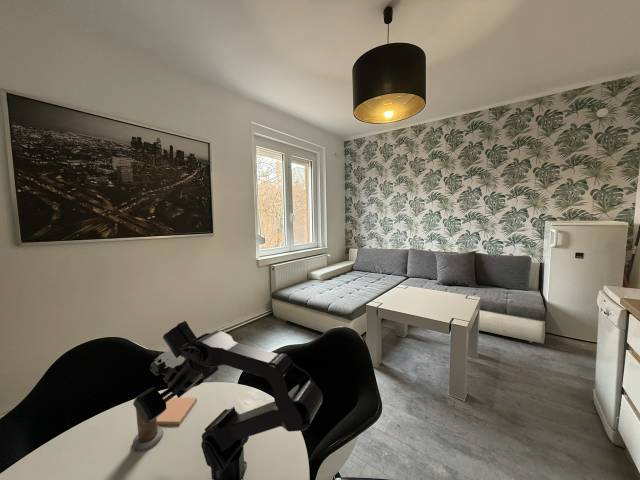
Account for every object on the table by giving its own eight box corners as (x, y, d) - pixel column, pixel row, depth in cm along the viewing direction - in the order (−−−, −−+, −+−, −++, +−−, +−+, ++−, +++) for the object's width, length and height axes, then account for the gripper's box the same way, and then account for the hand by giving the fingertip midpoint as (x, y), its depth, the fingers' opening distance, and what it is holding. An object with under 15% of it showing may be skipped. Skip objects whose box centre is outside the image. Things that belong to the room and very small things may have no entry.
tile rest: (197, 400, 85) (196, 397, 85) (179, 424, 75) (179, 421, 75) (168, 400, 85) (168, 397, 85) (147, 424, 75) (147, 421, 75)
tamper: (168, 428, 73) (165, 390, 72) (152, 450, 66) (148, 408, 65) (145, 428, 73) (142, 390, 72) (126, 450, 66) (122, 408, 65)
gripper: (203, 328, 71) (178, 358, 76) (134, 363, 54) (108, 399, 59) (226, 359, 69) (199, 388, 74) (162, 406, 52) (133, 440, 57)
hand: (164, 401), depth 66 cm, fingers open, 9 cm apart
